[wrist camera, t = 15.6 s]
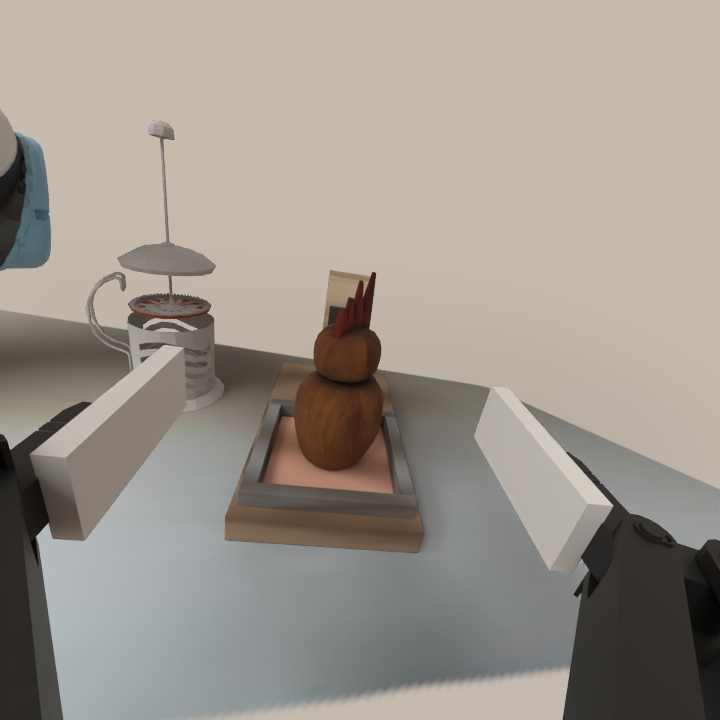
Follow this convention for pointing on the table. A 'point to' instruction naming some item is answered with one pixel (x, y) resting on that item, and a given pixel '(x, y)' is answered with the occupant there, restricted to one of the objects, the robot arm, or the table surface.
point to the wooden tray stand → (324, 474)
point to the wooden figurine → (342, 388)
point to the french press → (169, 307)
